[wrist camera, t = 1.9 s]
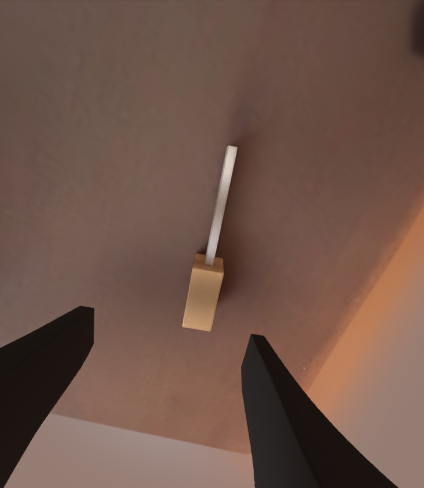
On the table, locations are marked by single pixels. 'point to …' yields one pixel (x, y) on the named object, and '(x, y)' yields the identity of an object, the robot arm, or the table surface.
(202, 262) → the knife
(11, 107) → the table surface
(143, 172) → the table surface
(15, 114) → the table surface
